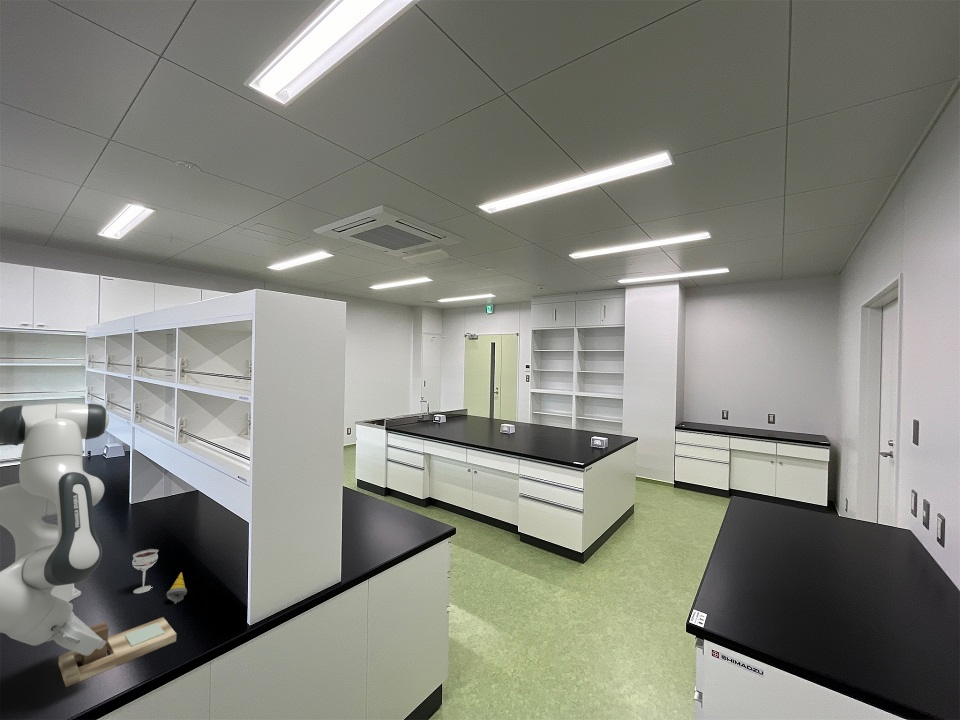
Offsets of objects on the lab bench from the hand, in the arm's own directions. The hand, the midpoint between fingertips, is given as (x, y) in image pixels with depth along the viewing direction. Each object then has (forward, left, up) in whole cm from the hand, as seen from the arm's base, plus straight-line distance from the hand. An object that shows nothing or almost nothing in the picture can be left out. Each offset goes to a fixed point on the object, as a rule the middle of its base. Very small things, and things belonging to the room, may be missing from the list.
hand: (98, 640), depth 100 cm
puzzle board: (0, +4, -5) cm, 7 cm away
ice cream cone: (-19, +21, -5) cm, 29 cm away
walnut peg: (0, -1, -5) cm, 5 cm away
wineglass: (-34, +16, -5) cm, 38 cm away
